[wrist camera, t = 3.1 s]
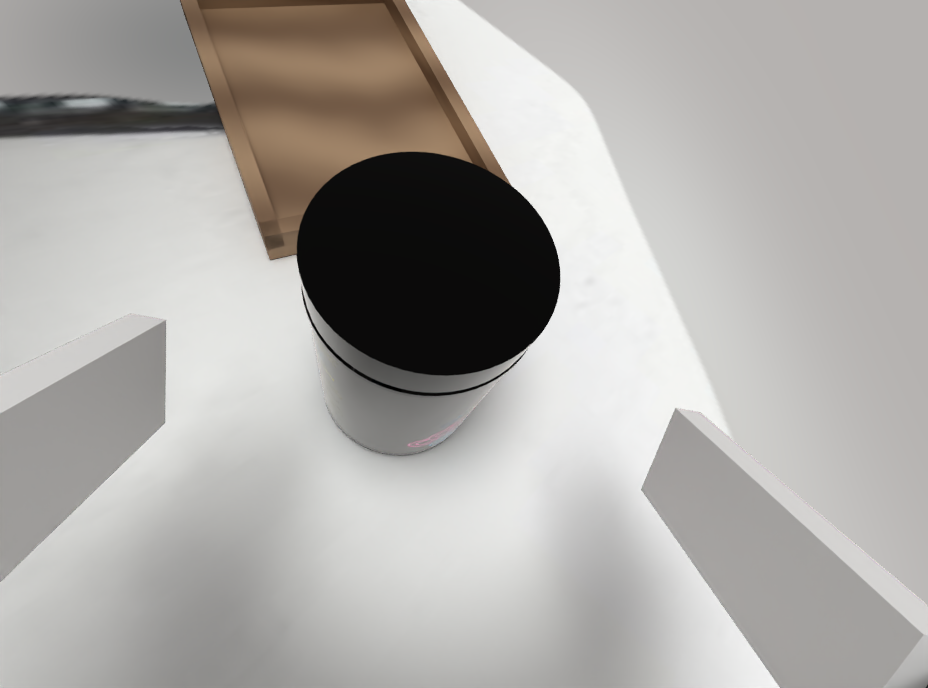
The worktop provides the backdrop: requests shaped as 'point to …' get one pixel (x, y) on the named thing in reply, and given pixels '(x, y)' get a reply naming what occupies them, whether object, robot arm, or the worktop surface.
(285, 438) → the worktop surface
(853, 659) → the robot arm
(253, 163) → the tray
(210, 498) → the worktop surface
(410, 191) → the supplement container
